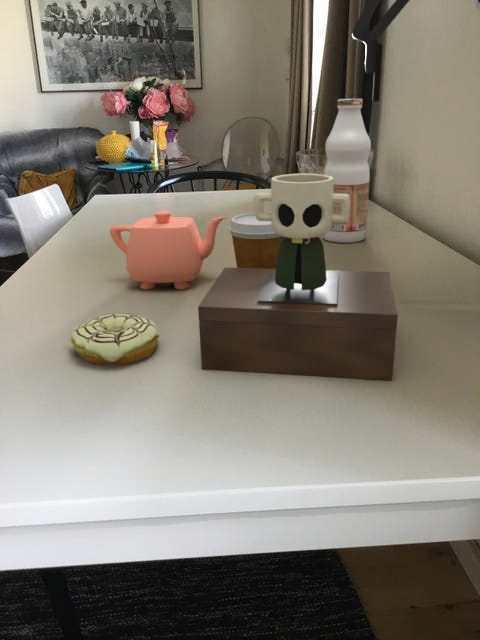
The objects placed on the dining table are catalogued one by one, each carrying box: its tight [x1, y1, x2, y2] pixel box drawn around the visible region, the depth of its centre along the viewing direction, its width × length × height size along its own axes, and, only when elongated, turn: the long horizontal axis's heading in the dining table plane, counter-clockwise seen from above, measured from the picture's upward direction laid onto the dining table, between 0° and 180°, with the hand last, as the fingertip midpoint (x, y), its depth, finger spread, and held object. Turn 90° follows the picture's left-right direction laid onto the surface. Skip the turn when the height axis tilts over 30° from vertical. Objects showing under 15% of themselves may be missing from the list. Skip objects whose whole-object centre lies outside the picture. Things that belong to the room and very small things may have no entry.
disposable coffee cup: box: [228, 212, 284, 269], centre depth 89 cm, size 10×10×12 cm
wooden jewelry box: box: [197, 266, 399, 381], centre depth 71 cm, size 22×15×8 cm
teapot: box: [109, 210, 228, 290], centre depth 96 cm, size 20×12×12 cm, turn 86°
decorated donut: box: [70, 312, 161, 366], centre depth 72 cm, size 10×11×4 cm
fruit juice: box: [321, 98, 372, 244], centre depth 117 cm, size 9×9×28 cm
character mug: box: [254, 172, 350, 290], centre depth 67 cm, size 11×7×13 cm, turn 79°
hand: (430, 100), depth 71 cm, fingers open, 13 cm apart
